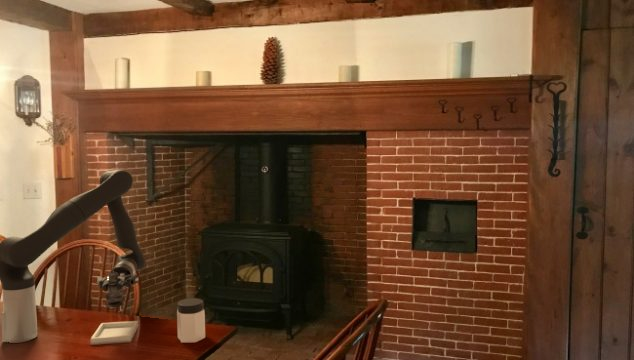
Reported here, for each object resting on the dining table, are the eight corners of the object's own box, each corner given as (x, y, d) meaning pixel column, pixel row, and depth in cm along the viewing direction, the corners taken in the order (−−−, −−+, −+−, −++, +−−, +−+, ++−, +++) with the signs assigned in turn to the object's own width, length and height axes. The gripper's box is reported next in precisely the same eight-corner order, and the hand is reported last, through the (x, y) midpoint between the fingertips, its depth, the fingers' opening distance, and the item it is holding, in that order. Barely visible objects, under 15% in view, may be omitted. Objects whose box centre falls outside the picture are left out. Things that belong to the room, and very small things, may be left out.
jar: (208, 340, 168) (207, 303, 168) (182, 345, 164) (181, 307, 164) (199, 331, 176) (198, 296, 175) (175, 335, 172) (174, 300, 171)
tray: (90, 344, 165) (90, 338, 165) (101, 328, 179) (101, 323, 179) (130, 342, 167) (130, 336, 167) (138, 326, 181) (137, 320, 181)
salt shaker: (111, 308, 168) (109, 272, 167) (101, 305, 172) (99, 269, 171) (127, 304, 173) (126, 268, 172) (117, 300, 177) (116, 265, 175)
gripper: (101, 264, 184) (88, 277, 168) (142, 262, 187) (134, 275, 170) (102, 285, 185) (89, 300, 168) (143, 282, 187) (135, 297, 171)
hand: (111, 287), depth 169 cm, fingers closed on salt shaker, 3 cm apart
